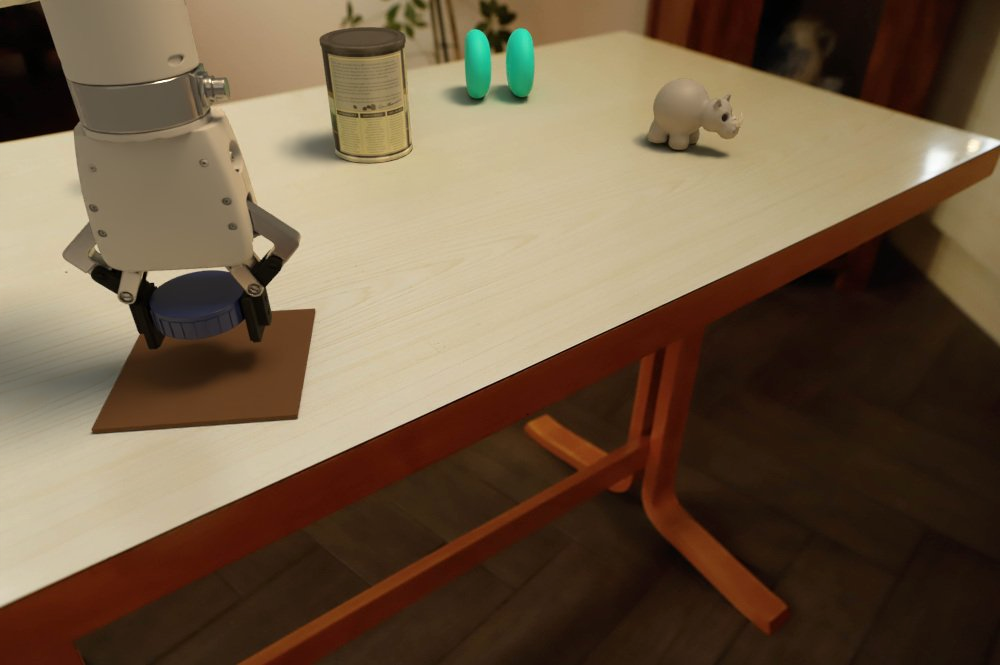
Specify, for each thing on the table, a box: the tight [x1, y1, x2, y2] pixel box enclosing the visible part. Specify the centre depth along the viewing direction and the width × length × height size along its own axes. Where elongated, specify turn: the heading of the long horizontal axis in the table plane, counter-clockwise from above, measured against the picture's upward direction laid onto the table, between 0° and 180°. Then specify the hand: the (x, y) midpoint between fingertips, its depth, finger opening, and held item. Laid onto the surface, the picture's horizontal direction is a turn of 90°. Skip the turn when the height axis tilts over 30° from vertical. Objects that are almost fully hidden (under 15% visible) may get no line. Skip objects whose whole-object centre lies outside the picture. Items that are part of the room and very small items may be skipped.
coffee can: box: [318, 26, 414, 164], centre depth 91 cm, size 10×10×14 cm
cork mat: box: [90, 308, 317, 434], centre depth 56 cm, size 14×14×1 cm
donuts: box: [464, 27, 535, 99], centre depth 111 cm, size 10×10×10 cm
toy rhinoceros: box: [647, 77, 744, 151], centre depth 94 cm, size 7×12×8 cm, turn 51°
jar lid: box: [149, 269, 245, 340], centre depth 53 cm, size 7×7×2 cm
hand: (209, 333), depth 55 cm, fingers closed on jar lid, 6 cm apart
